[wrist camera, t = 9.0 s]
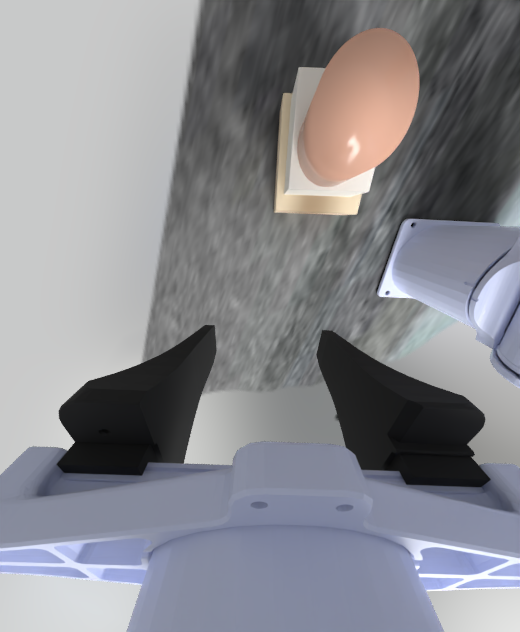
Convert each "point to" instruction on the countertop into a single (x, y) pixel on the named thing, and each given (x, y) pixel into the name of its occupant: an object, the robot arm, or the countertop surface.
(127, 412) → the robot arm
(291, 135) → the top block
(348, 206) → the base block
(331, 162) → the pink oval piece
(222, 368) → the countertop surface
